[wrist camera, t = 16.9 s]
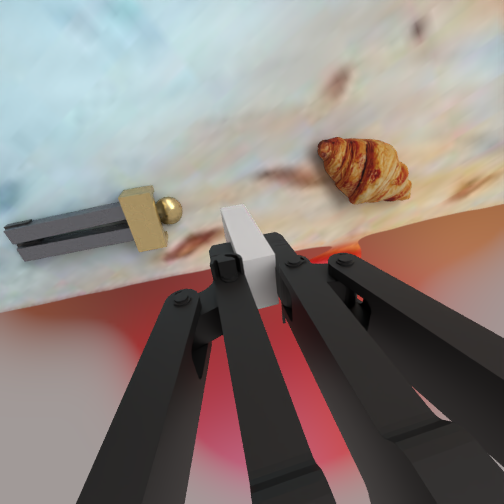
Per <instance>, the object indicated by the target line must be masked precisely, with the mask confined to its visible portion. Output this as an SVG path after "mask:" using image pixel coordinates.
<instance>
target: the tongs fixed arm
mask: <svg viewBox="0 0 504 504" xmlns="http://www.w3.org/2000/svg"><path fill="white" fill-rule="evenodd" d="M156 208H157V211H158V214H159V217H160V220H161V222H162V223H164V224H174V223H176V222H178V221H179V220H180V218H181V216H182V206H181V204H180V203H179V202H178V201H177V200H176V199H174V198H171V197H164V198H161V199H160V200H158V202H157V203H156ZM133 240H134V238H133V235H132V233H131V230H130V228H129V225H128V223H126V224H120V225H115V226H109V227H104V228H99V229H93V230H88V231H82V232H77V233H72V234H66V235H61V236H55V237H50V238H45V239H44V238H40V239H36V240H31V241H27V242H22V243H18V244H17V246H18V248H17V251H18V252H19V254H20V255H21V257H22V258H23V260H24V261H31V260H36V259H41V258H46V257H51V256H56V255H61V254H66V253H72V252H77V251H82V250H87V249H92V248H97V247H102V246H107V245H113V244H118V243H123V242H128V241H133Z"/></svg>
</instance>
